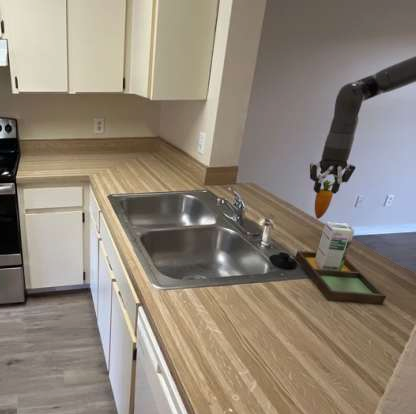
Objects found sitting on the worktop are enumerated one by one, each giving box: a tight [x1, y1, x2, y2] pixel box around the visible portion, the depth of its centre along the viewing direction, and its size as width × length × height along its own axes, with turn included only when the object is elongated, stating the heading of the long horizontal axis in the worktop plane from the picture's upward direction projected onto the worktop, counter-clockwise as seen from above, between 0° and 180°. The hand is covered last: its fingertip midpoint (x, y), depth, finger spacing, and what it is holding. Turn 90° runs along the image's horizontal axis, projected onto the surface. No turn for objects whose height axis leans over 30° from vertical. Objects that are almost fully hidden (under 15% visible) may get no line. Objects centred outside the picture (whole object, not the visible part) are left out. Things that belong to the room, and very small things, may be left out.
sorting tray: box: [295, 250, 387, 305], centre depth 101 cm, size 14×22×3 cm, turn 172°
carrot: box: [314, 179, 335, 220], centre depth 119 cm, size 5×5×15 cm
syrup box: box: [315, 221, 355, 271], centre depth 103 cm, size 6×6×14 cm
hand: (325, 192), depth 118 cm, fingers closed on carrot, 5 cm apart
